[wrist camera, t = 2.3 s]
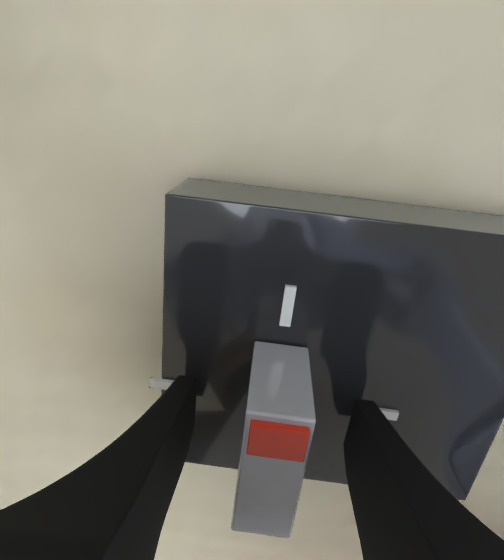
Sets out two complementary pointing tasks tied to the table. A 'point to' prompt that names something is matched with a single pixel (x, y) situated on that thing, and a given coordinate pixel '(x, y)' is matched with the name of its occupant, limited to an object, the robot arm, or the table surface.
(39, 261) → the table surface
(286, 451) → the knob
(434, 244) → the panel
